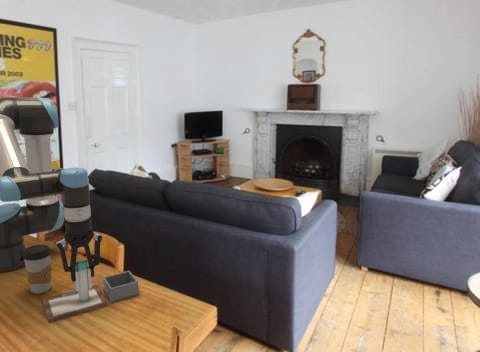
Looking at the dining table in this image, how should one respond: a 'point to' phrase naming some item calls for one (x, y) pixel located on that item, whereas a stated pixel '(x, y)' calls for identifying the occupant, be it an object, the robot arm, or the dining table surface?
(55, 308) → the clipboard
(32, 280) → the coffee cup
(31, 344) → the dining table surface
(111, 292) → the grey open box
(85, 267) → the marker
